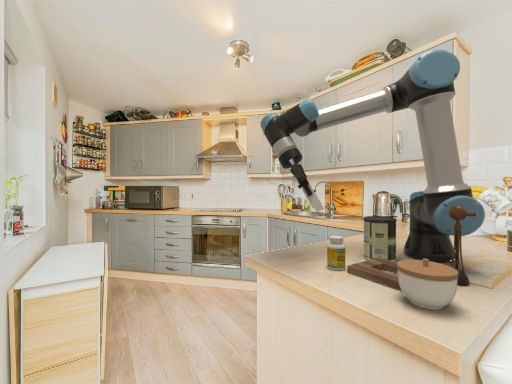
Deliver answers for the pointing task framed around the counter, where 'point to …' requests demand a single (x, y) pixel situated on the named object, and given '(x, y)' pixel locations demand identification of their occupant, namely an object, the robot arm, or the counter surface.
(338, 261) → the supplement bottle
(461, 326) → the counter surface
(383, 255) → the coffee can
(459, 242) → the wooden tabletop sculpture
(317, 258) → the counter surface
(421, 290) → the lidded jar
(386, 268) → the walnut socket plate
